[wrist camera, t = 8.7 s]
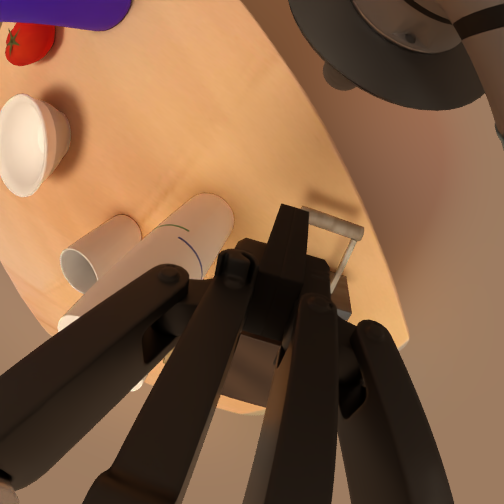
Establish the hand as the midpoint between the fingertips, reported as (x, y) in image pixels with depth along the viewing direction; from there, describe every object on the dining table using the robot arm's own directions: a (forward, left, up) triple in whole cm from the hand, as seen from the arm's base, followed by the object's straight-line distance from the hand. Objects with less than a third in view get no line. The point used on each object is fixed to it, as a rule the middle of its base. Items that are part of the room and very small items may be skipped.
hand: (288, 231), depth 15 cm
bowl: (+28, -27, -20) cm, 44 cm away
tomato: (+19, -43, -20) cm, 52 cm away
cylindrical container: (+14, 0, -20) cm, 25 cm away
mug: (+27, -4, -20) cm, 34 cm away
